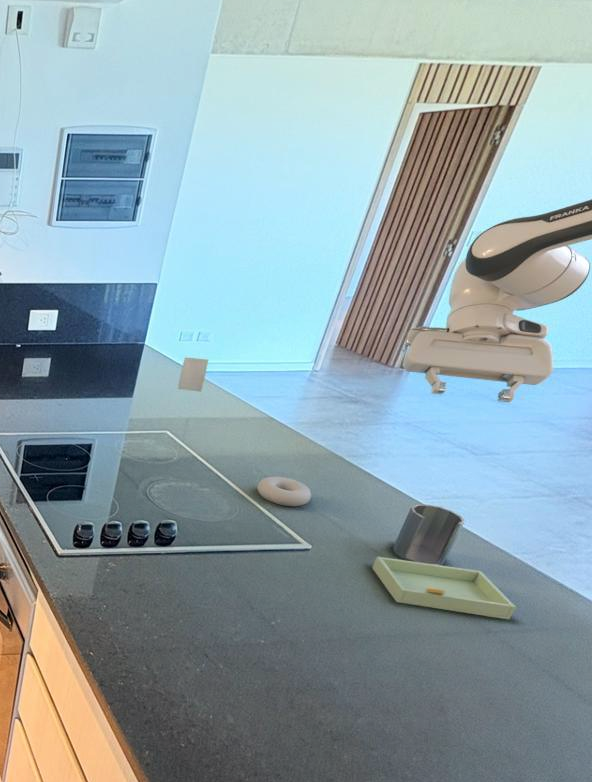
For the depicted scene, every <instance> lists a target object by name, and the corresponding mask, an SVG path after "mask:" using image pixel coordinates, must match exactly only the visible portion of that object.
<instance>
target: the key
mask: <svg viewBox="0 0 592 782" xmlns="http://www.w3.org/2000/svg"><path fill="white" fill-rule="evenodd" d="M426 592H430V593H437V594H444V591H443V590H437V589H426Z"/></svg>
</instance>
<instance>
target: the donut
mask: <svg viewBox="0 0 592 782" xmlns="http://www.w3.org/2000/svg"><path fill="white" fill-rule="evenodd" d="M256 488H257V492H258V494H259V495H260V496H261V497H262V498H263V499H265V500H267V501H269V502H271V503H274V504H277V505H279V506H285V507H300V506H304V505H306V504H308V503H309V502H310V501H311V498H312V492H311V490H310V488H309V487H307V485H306V484H304V483H302V482H300V481H298V480H295V479H293V478H289V477H283V476H268V477H265V478H263V479H261V480H259V482H258V484H257V486H256Z"/></svg>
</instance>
